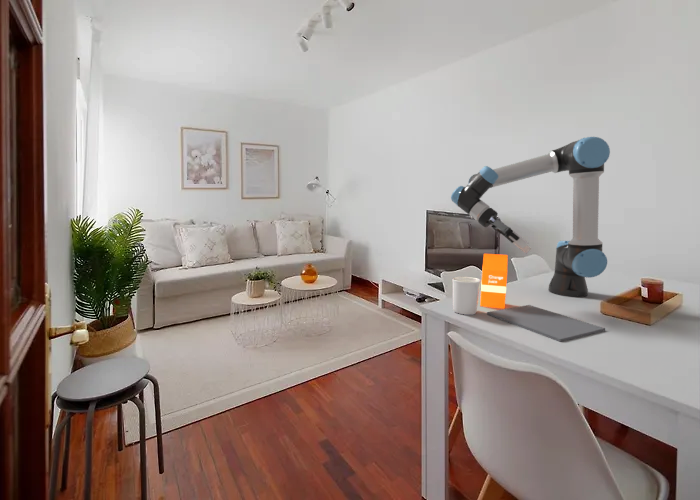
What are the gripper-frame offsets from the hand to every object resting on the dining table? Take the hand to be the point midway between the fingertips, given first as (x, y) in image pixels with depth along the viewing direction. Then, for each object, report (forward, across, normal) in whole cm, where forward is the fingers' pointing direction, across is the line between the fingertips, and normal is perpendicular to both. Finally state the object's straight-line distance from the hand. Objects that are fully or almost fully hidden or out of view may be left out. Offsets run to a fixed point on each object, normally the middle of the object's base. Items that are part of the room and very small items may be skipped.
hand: (527, 248), depth 143 cm
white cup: (+2, +12, -32) cm, 34 cm away
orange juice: (+5, -2, -25) cm, 25 cm away
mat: (+22, +10, -16) cm, 29 cm away
